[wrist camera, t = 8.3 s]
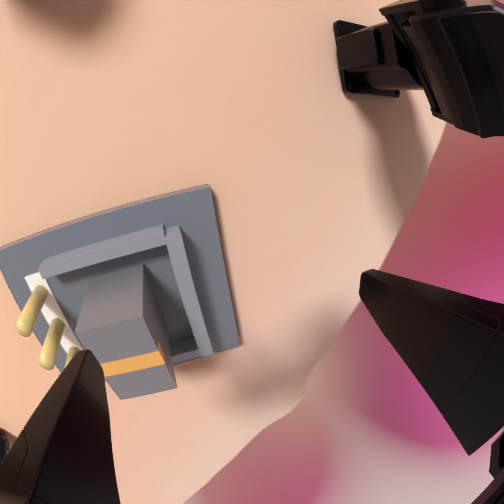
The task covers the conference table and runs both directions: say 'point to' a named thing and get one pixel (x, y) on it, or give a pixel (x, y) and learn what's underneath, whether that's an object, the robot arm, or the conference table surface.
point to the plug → (127, 333)
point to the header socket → (121, 256)
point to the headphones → (3, 448)
